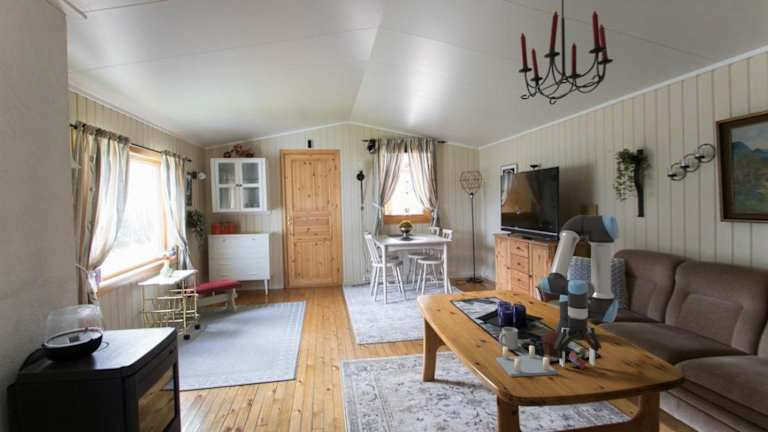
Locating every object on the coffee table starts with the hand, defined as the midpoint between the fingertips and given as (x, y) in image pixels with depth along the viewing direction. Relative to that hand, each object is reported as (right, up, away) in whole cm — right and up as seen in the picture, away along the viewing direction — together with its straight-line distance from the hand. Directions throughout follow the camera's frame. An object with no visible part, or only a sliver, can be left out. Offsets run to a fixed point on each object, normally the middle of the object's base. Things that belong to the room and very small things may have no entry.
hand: (577, 365), depth 157 cm
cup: (-22, -1, +23) cm, 32 cm away
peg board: (-22, -2, +2) cm, 22 cm away
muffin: (-3, -1, +15) cm, 15 cm away
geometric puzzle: (0, -1, 0) cm, 1 cm away
